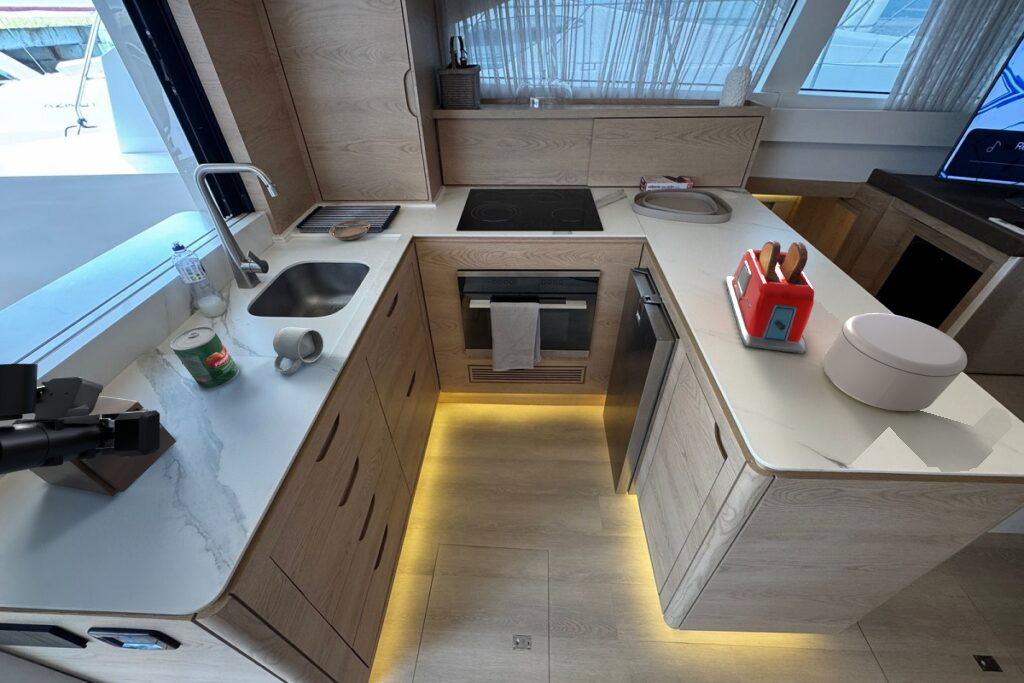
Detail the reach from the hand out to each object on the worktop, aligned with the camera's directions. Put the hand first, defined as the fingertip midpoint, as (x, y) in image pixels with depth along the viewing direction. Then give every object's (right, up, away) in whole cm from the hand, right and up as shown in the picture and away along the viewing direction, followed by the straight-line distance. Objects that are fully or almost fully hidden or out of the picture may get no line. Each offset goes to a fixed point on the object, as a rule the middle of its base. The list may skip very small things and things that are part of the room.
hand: (140, 428), depth 64 cm
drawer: (-6, -7, +4) cm, 10 cm away
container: (+134, +6, +15) cm, 135 cm away
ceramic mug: (+12, +10, +27) cm, 31 cm away
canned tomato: (-4, +6, +23) cm, 24 cm away
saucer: (+1, +54, +84) cm, 100 cm away
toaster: (+124, +22, +36) cm, 131 cm away
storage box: (-10, -7, +6) cm, 14 cm away
